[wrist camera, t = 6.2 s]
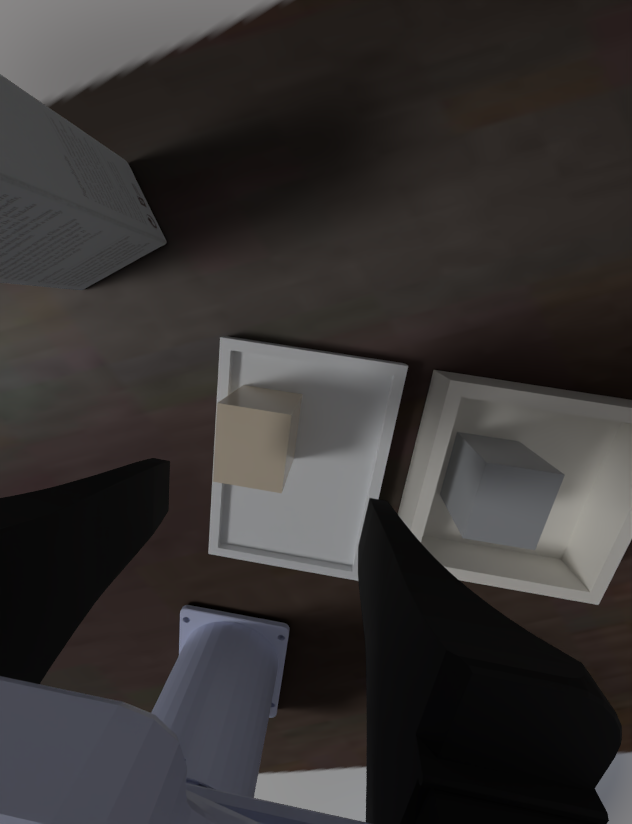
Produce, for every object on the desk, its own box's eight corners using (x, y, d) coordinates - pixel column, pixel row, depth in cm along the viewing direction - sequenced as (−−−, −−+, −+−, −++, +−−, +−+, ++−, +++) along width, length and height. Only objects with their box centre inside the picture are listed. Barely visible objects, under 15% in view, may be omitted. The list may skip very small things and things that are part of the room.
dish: (563, 564, 21) (598, 604, 18) (392, 535, 21) (400, 569, 18) (636, 400, 18) (692, 417, 15) (433, 369, 18) (450, 380, 15)
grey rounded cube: (497, 503, 19) (535, 550, 16) (439, 494, 20) (462, 538, 16) (518, 441, 18) (564, 474, 14) (457, 431, 18) (486, 462, 15)
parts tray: (359, 569, 22) (359, 581, 21) (214, 543, 23) (208, 553, 22) (404, 363, 18) (408, 366, 17) (226, 336, 18) (220, 337, 18)
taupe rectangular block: (294, 458, 20) (281, 493, 16) (238, 449, 20) (213, 481, 16) (302, 394, 19) (291, 414, 15) (243, 384, 19) (217, 402, 15)
